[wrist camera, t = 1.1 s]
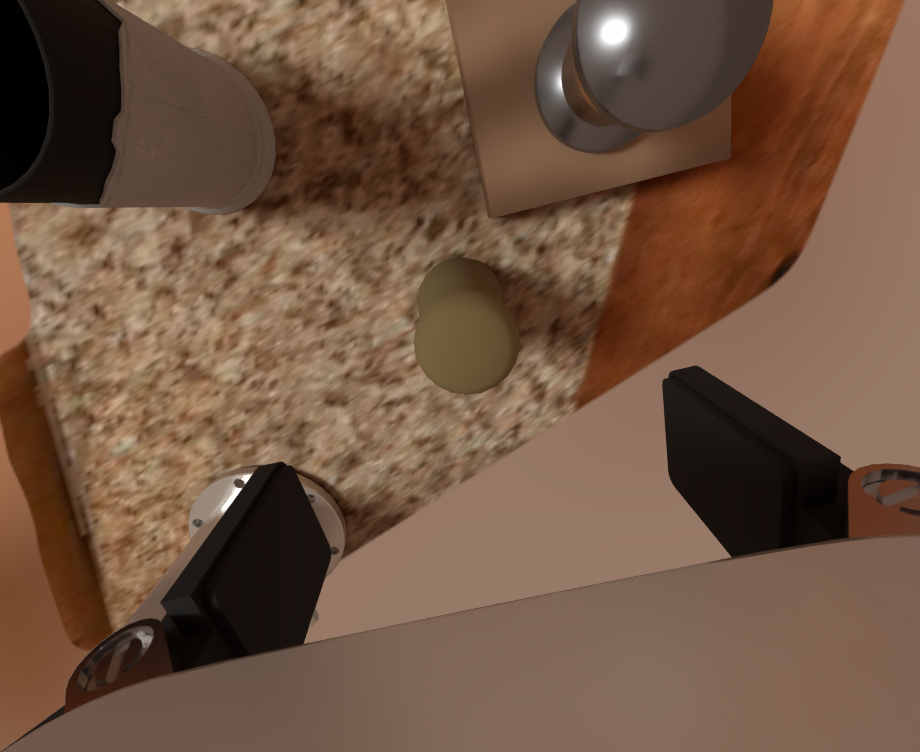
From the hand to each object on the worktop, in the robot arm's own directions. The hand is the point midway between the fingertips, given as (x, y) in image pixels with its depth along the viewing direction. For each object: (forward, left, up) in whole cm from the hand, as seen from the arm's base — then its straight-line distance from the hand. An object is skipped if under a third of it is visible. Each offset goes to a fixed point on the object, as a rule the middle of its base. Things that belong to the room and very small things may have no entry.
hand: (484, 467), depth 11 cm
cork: (0, 0, -21) cm, 21 cm away
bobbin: (+10, -10, -18) cm, 23 cm away
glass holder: (+15, +15, -21) cm, 29 cm away
